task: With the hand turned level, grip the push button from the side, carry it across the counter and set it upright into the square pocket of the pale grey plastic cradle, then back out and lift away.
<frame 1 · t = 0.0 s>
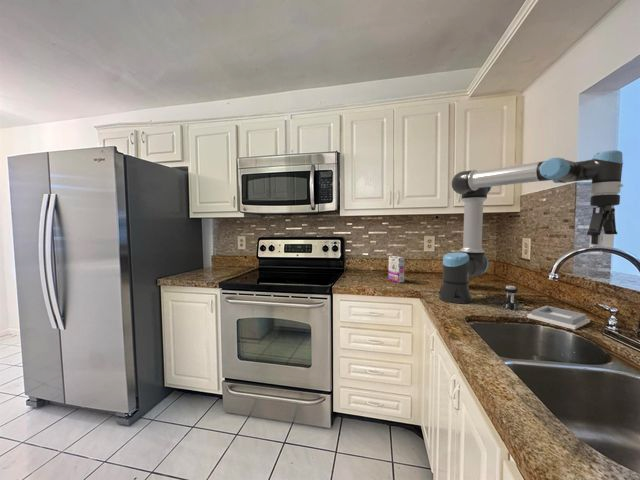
hand: (601, 252, 102), 28 cm above the countertop, tool pointing down, fingers open, 13 cm apart
candy bar box: (396, 281, 182), on the countertop
push button: (508, 308, 126), on the countertop
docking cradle: (557, 319, 110), on the countertop
plant pot: (460, 287, 167), on the countertop
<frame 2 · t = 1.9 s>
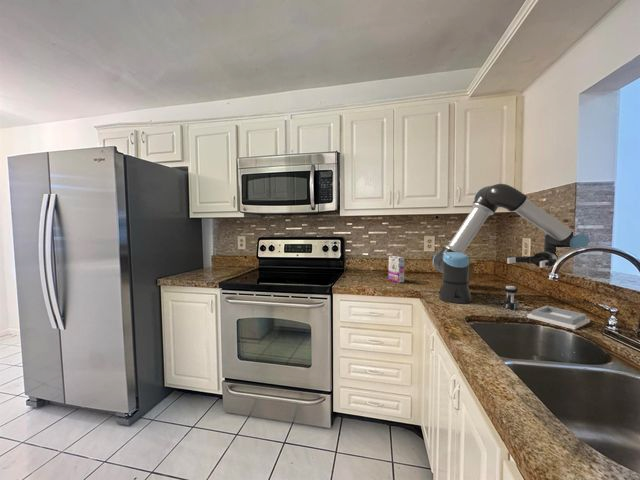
hand: (523, 262, 130), 20 cm above the countertop, tool horizontal, fingers open, 13 cm apart
nothing on the countertop moved.
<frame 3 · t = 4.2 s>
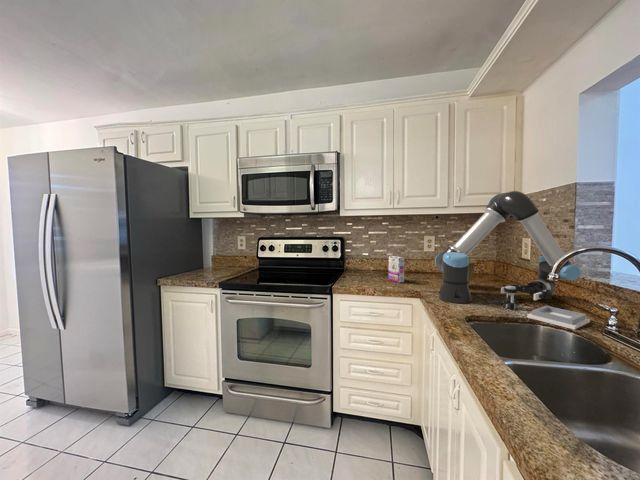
hand: (517, 293, 128), 6 cm above the countertop, tool horizontal, fingers open, 13 cm apart
nothing on the countertop moved.
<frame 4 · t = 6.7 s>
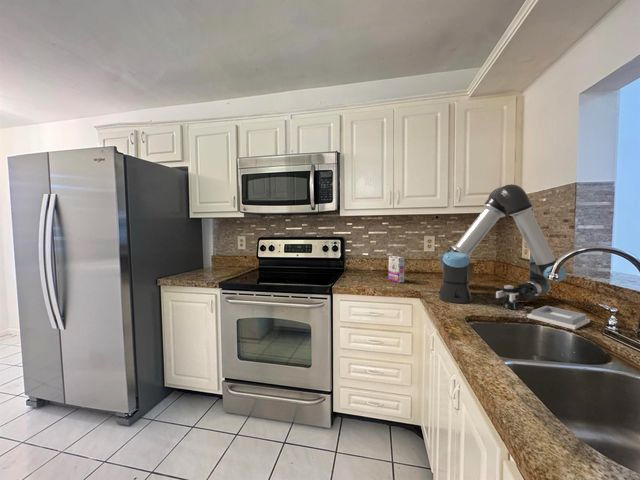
hand: (503, 296, 123), 6 cm above the countertop, tool horizontal, fingers closed on push button, 5 cm apart
push button: (508, 307, 126), on the countertop, touching gripper
everything else where it was.
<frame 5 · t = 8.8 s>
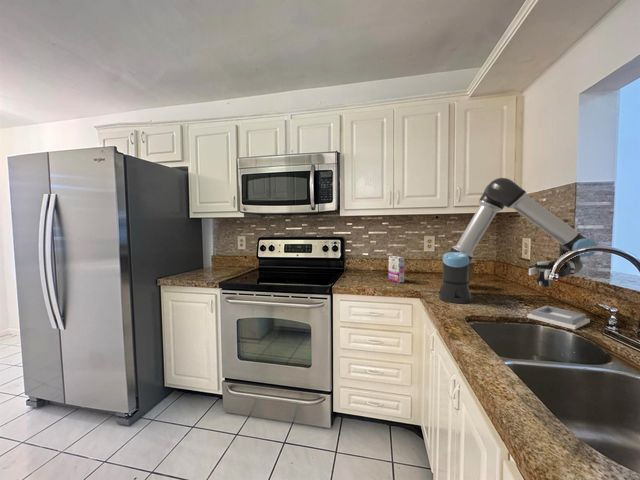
hand: (537, 272, 112), 18 cm above the countertop, tool horizontal, fingers closed on push button, 5 cm apart
push button: (542, 285, 116), point 12 cm above the countertop, touching gripper
everything else where it was.
when the fingers open (9 cm above the countertop, at t = 11.3 s): push button drops 2 cm, resting on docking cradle.
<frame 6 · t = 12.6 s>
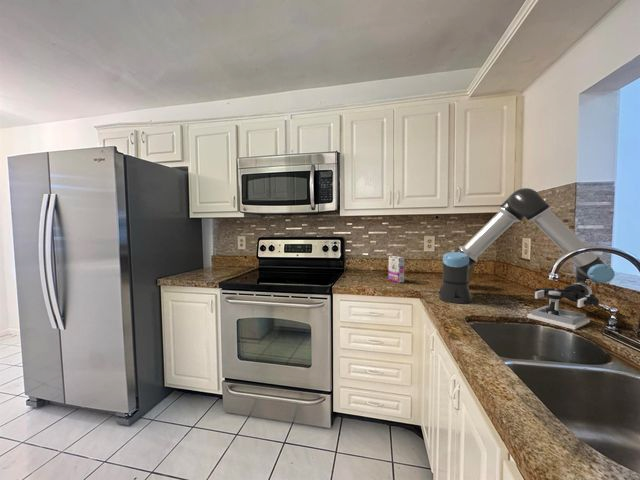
hand: (556, 299, 108), 9 cm above the countertop, tool horizontal, fingers open, 13 cm apart
push button: (551, 316, 112), point 1 cm above the countertop, touching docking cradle
everything else where it was.
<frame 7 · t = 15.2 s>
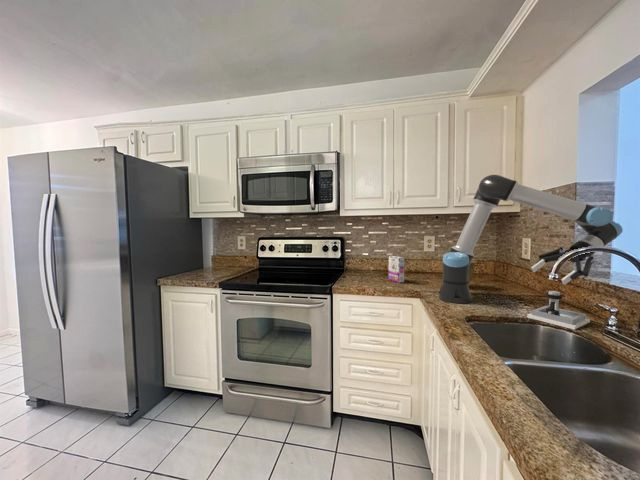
hand: (547, 275, 121), 16 cm above the countertop, tool tilted 55°, fingers open, 13 cm apart
nothing on the countertop moved.
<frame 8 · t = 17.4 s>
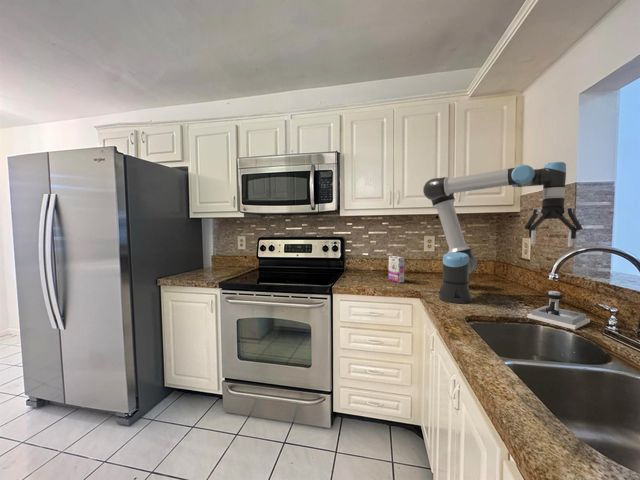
hand: (550, 245, 124), 29 cm above the countertop, tool pointing down, fingers open, 13 cm apart
nothing on the countertop moved.
at the end: push button 1.9 cm off-centre on the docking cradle, point 1.0 cm above the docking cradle's base; push button tilted 0°; the gripper is holding nothing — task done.
